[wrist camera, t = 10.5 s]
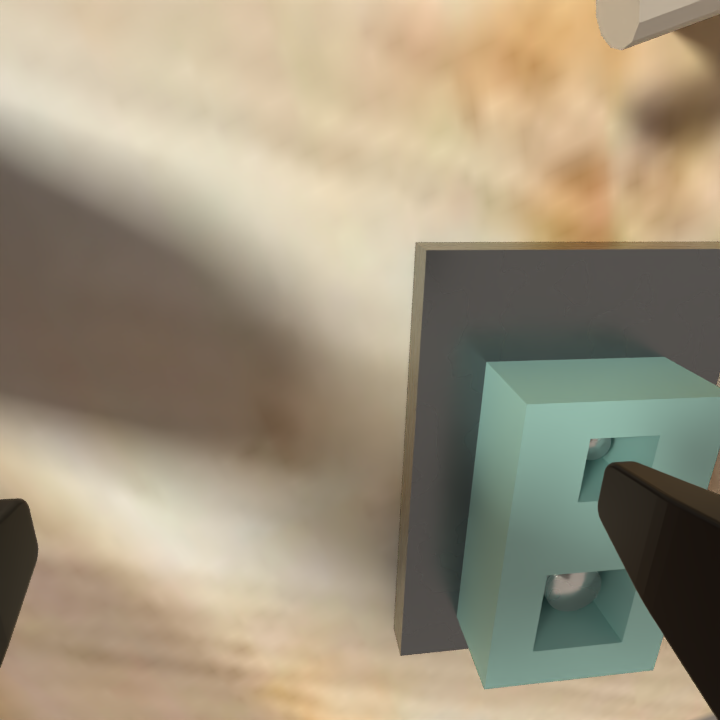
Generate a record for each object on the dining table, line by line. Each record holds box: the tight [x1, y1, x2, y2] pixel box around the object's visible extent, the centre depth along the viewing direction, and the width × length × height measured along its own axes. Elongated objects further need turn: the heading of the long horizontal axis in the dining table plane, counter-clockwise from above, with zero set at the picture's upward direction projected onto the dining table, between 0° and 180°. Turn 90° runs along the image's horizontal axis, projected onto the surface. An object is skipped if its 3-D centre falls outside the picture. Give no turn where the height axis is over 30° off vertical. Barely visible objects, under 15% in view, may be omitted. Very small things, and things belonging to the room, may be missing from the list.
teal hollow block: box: [457, 357, 720, 689], centre depth 21 cm, size 12×7×4 cm, turn 179°
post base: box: [394, 242, 720, 656], centre depth 22 cm, size 12×18×4 cm, turn 179°
